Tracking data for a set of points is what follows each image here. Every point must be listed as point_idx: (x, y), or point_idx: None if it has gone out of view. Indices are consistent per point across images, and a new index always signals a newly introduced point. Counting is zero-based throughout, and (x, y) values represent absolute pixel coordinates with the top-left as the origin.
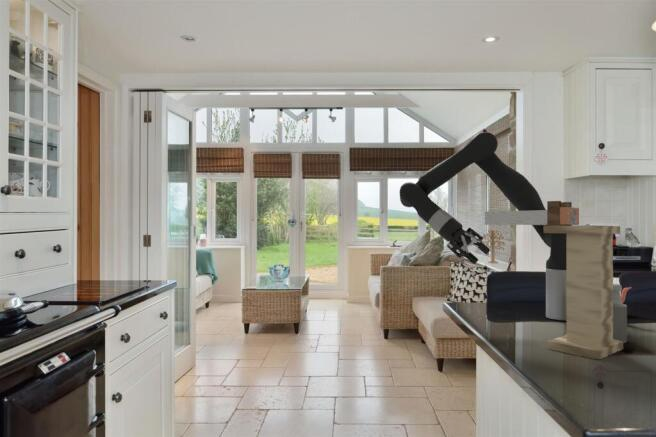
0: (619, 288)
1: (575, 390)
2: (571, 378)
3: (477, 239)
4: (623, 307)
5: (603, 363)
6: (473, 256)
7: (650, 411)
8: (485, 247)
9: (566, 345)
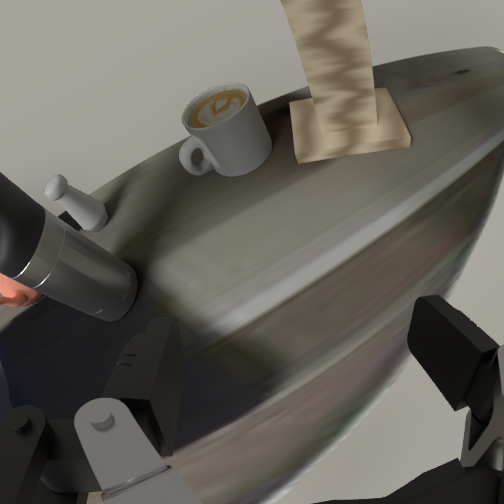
0: (63, 176)
1: (494, 77)
2: (477, 87)
3: (118, 460)
4: (226, 84)
5: (394, 90)
6: (461, 314)
7: (466, 48)
8: (167, 348)
9: (400, 115)
